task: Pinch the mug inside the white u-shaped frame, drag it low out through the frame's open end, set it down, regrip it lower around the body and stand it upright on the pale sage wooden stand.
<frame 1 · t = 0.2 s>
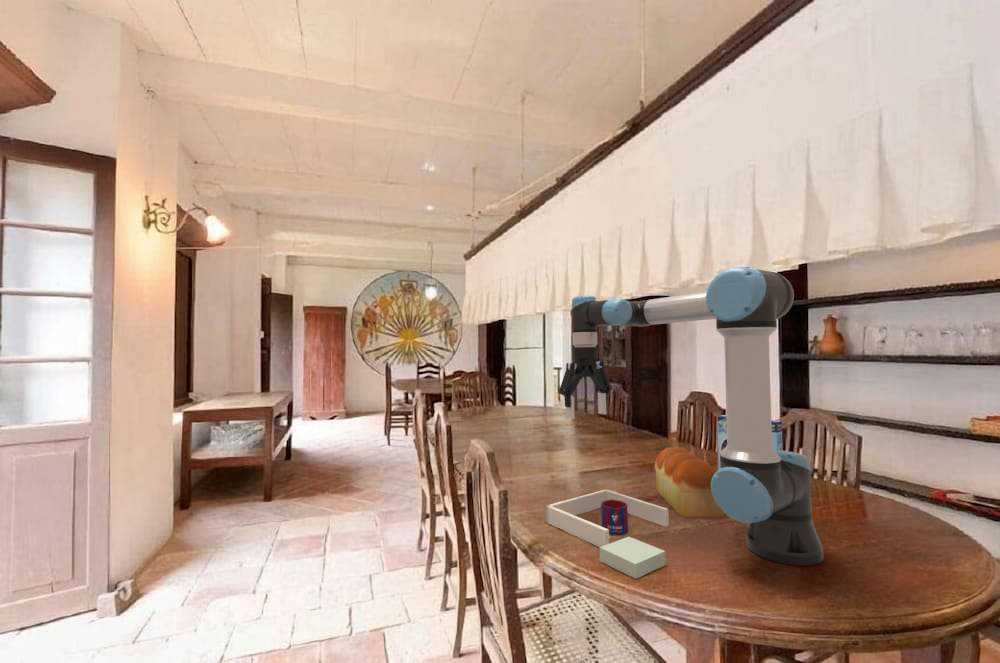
hand: (586, 416, 139), 27 cm above the table, fingers open, 13 cm apart
white u-shaped frame: (606, 524, 124), on the table
gum box: (750, 486, 156), on the table
bread: (687, 503, 140), on the table
mug: (614, 528, 121), on the table
stand: (632, 563, 101), on the table
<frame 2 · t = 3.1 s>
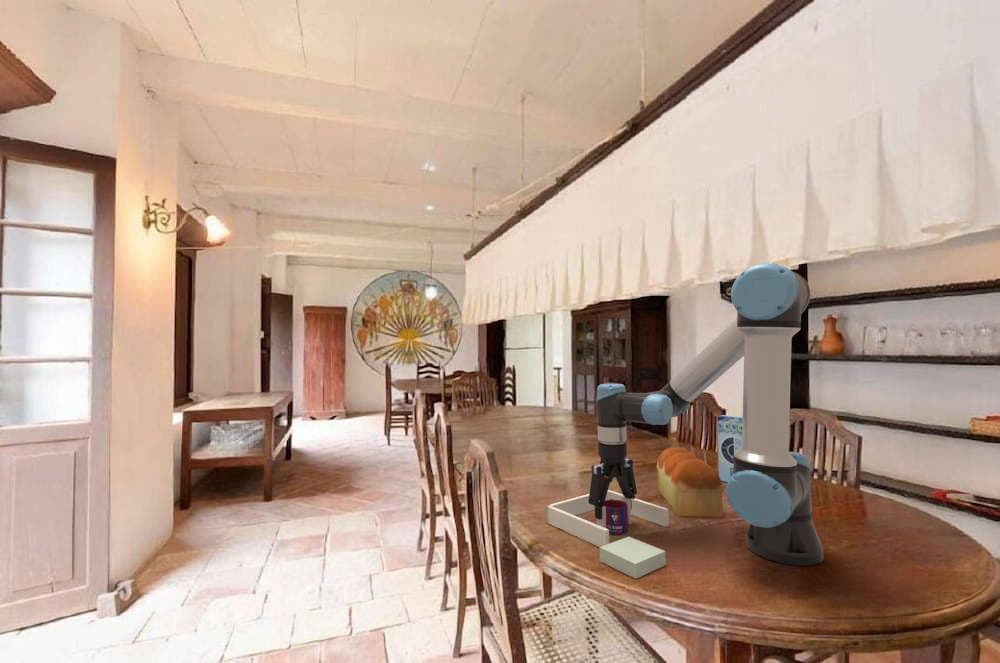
hand: (614, 526, 121), 0 cm above the table, fingers open, 9 cm apart
mug: (614, 528, 121), on the table, touching gripper
everything else where it was.
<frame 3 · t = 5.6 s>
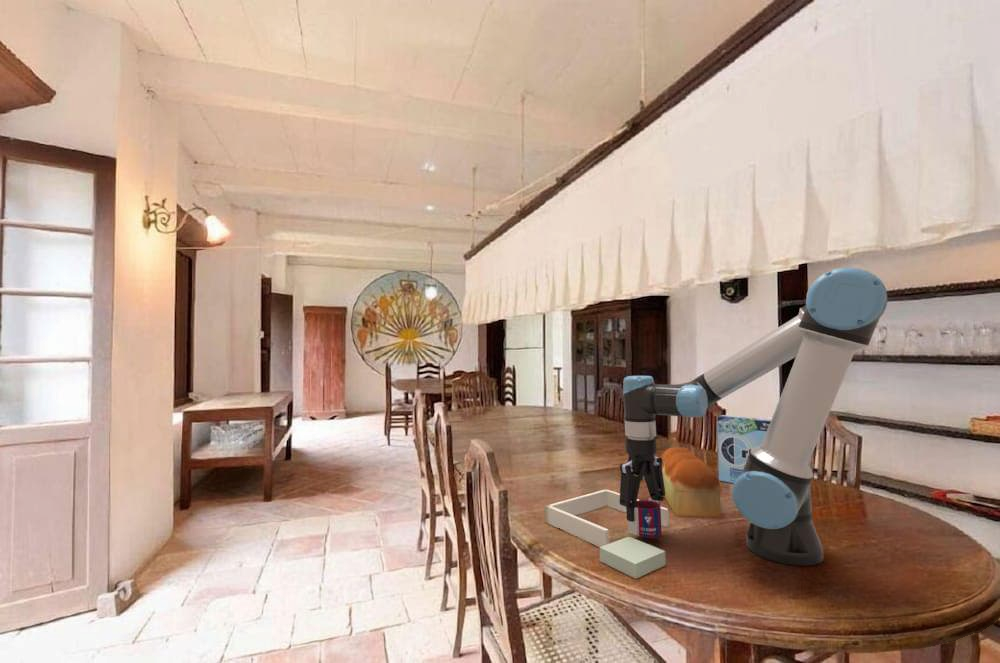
hand: (644, 529, 113), 2 cm above the table, fingers closed on mug, 7 cm apart
mug: (646, 530, 114), point 2 cm above the table, touching gripper
everything else where it was.
when the fingers open (0 cm above the table, at t = 7.3 s): mug stays where it is, on the table.
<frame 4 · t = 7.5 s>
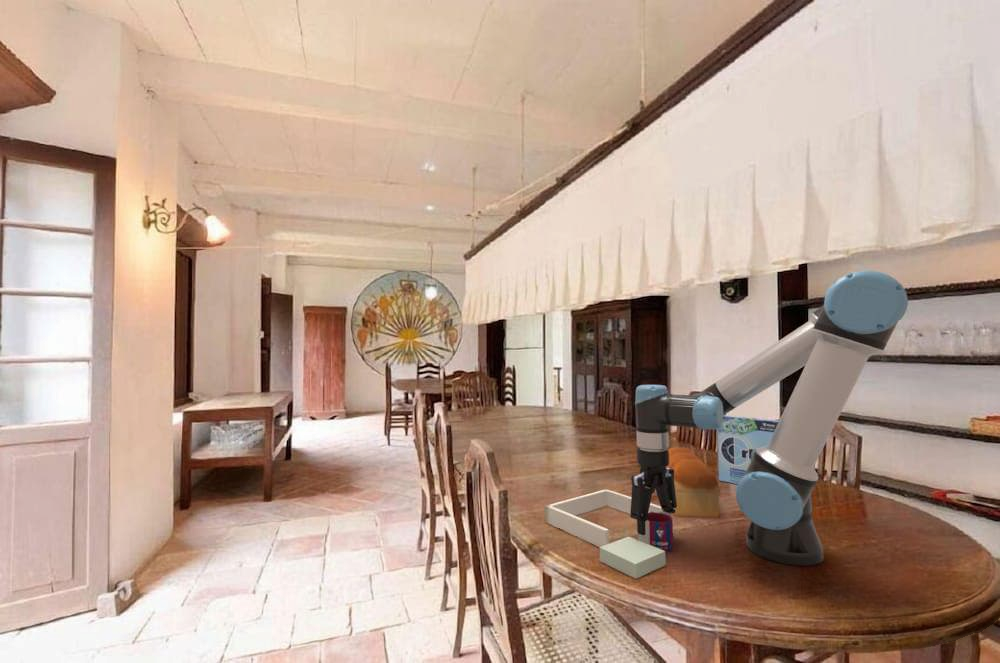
hand: (655, 542, 111), 0 cm above the table, fingers open, 8 cm apart
mug: (657, 543, 111), on the table
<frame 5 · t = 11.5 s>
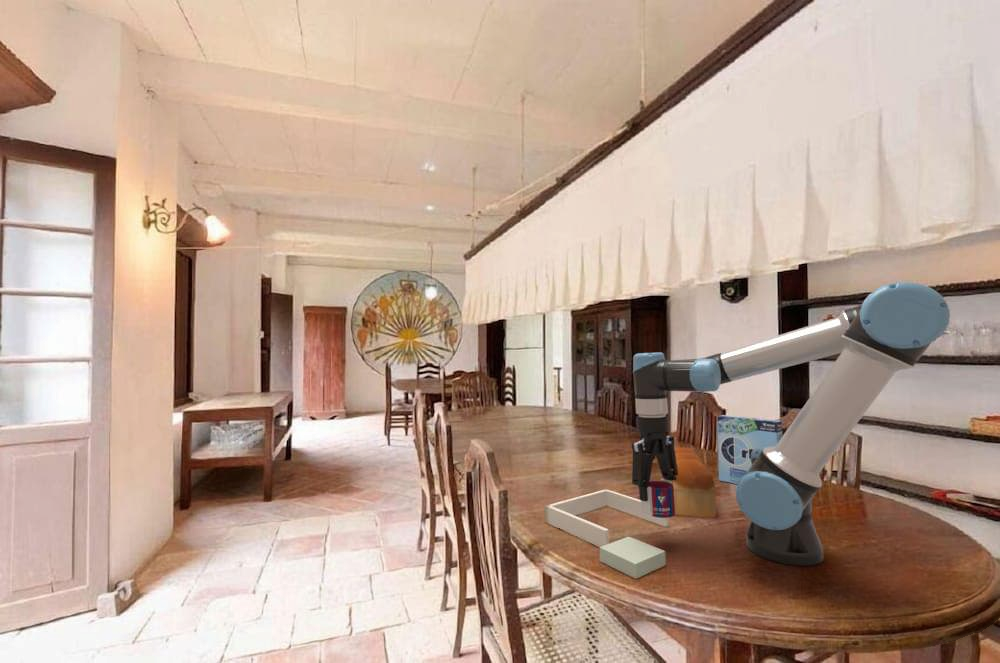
hand: (657, 510, 110), 8 cm above the table, fingers closed on mug, 7 cm apart
mug: (659, 511, 111), point 8 cm above the table, touching gripper
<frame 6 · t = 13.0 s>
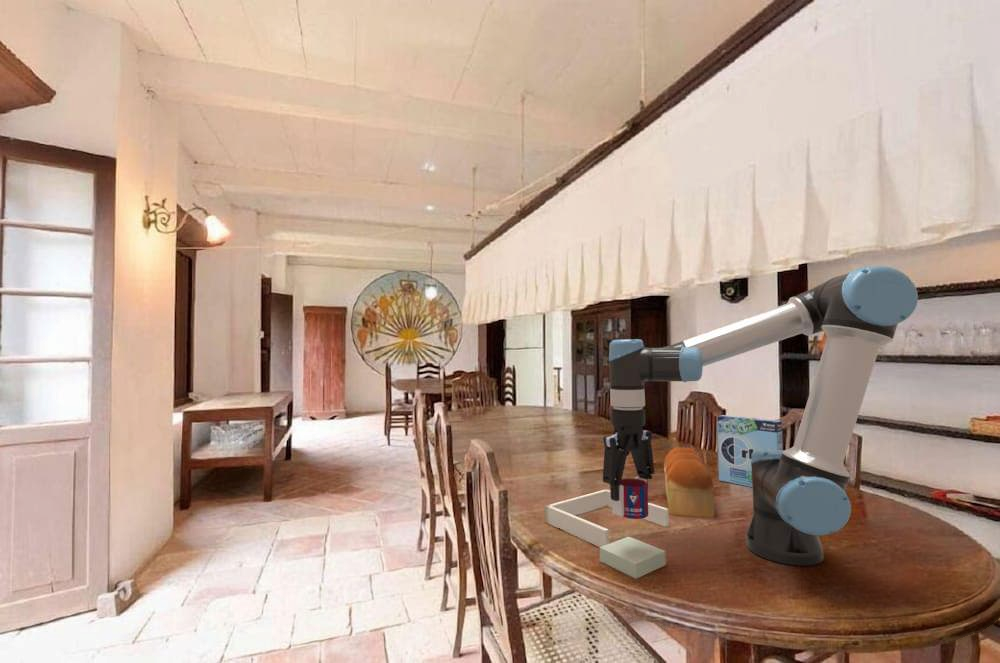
hand: (630, 510, 101), 11 cm above the table, fingers closed on mug, 7 cm apart
mug: (631, 511, 102), point 11 cm above the table, touching gripper
when the fingers open (4 cm above the table, at t = 14.6 s): mug stays where it is, resting on stand.
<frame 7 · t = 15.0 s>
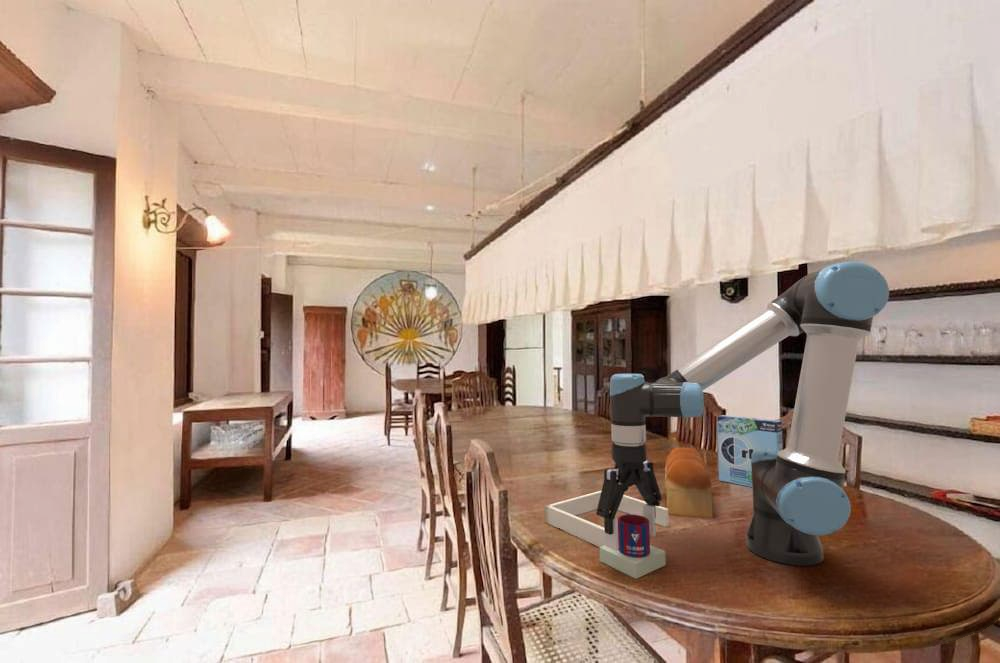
hand: (631, 541, 101), 5 cm above the table, fingers open, 12 cm apart
mug: (633, 548, 102), point 3 cm above the table, touching stand
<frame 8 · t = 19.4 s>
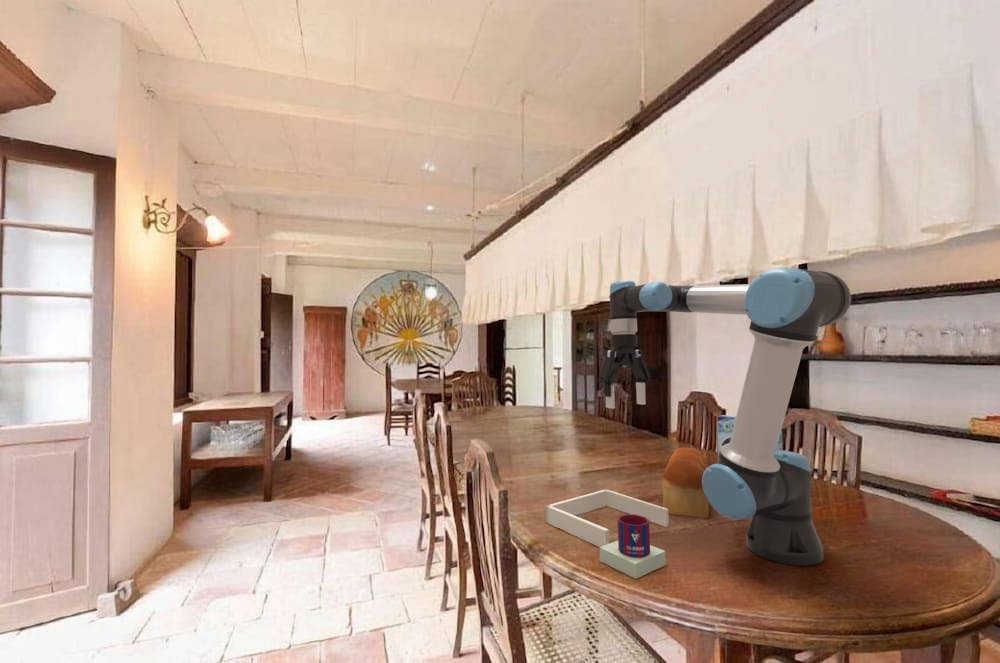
hand: (626, 406, 133), 31 cm above the table, fingers open, 13 cm apart
at the end: mug inside the target area on the stand (0.9 cm from its centre), point 2.8 cm above the stand's base; mug tilted 0°; the gripper is holding nothing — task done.
